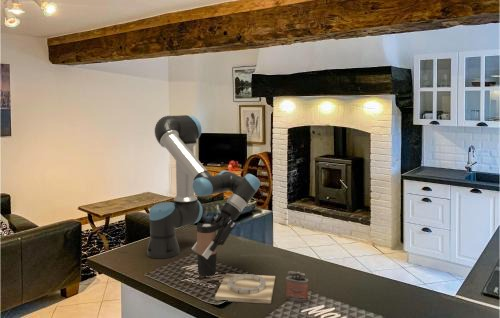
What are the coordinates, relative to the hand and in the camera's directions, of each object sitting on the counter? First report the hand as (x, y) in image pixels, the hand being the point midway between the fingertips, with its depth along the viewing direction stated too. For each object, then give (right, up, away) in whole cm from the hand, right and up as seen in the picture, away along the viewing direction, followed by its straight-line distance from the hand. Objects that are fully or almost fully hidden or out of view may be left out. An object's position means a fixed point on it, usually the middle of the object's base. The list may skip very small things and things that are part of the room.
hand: (199, 253), depth 156 cm
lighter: (+37, -13, -12) cm, 41 cm away
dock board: (+19, -12, -5) cm, 23 cm away
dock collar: (+19, -11, -5) cm, 22 cm away
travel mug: (+3, -8, +3) cm, 9 cm away
